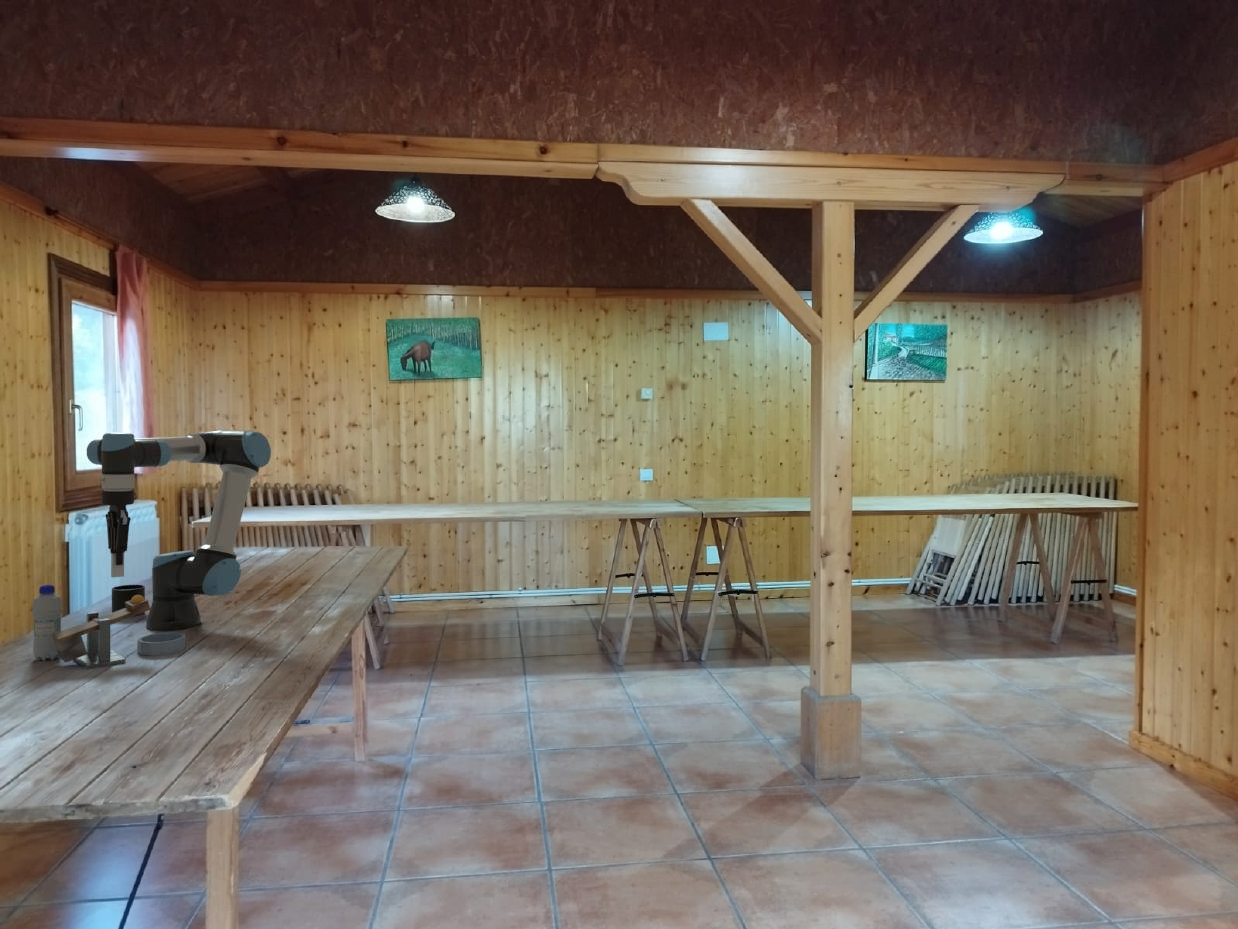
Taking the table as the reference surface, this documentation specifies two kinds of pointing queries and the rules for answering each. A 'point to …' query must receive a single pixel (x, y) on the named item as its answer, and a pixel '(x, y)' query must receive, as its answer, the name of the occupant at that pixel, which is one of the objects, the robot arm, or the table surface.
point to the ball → (137, 599)
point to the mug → (125, 595)
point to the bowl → (161, 643)
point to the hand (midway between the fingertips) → (117, 576)
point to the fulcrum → (99, 646)
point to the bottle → (46, 622)
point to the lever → (71, 639)
